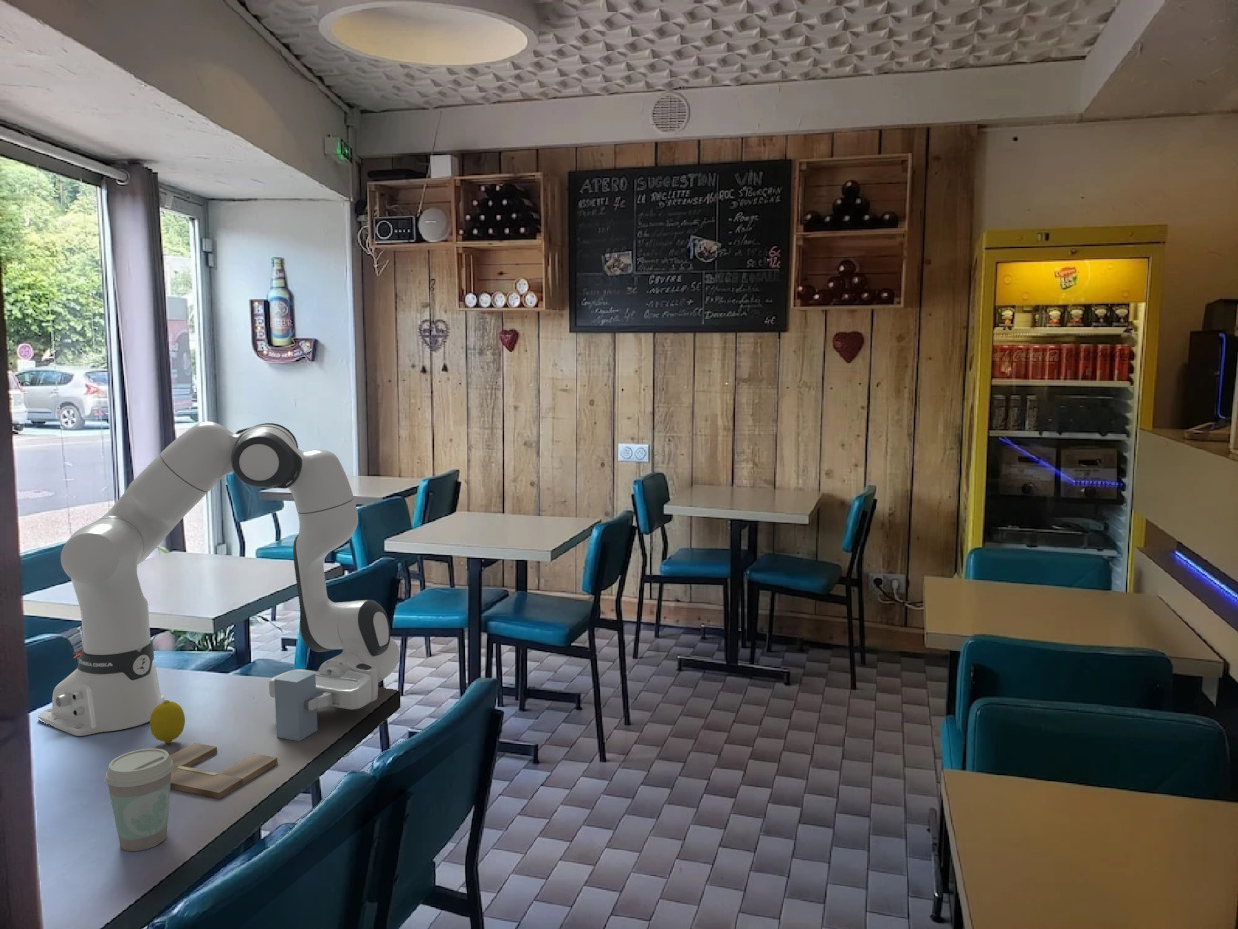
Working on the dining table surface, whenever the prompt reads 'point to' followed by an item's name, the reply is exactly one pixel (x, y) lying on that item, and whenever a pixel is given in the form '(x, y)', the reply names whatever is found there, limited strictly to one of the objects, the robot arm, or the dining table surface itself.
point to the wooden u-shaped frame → (212, 781)
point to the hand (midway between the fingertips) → (292, 704)
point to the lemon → (167, 721)
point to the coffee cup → (140, 797)
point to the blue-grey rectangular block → (295, 705)
